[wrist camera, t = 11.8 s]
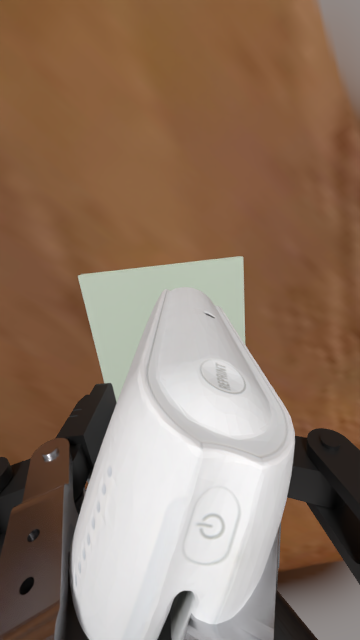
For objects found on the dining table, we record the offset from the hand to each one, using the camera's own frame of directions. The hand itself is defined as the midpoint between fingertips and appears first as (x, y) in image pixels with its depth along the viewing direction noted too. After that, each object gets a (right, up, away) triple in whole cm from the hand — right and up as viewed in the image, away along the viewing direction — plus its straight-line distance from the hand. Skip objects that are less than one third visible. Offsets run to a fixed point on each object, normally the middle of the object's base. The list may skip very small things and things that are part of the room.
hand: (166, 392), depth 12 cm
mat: (0, +2, +7) cm, 8 cm away
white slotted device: (0, +1, +4) cm, 4 cm away
